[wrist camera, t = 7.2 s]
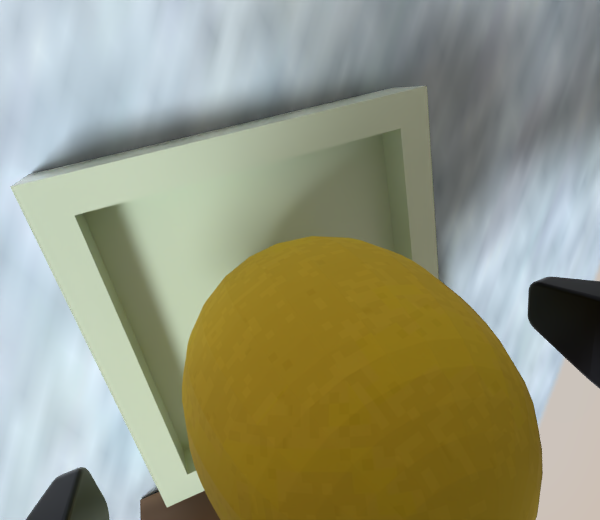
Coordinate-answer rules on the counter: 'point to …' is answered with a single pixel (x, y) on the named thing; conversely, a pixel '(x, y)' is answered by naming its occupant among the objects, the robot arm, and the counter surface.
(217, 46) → the counter surface
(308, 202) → the dish
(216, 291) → the lemon
